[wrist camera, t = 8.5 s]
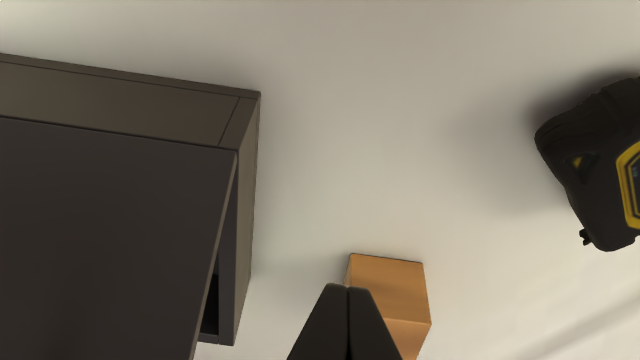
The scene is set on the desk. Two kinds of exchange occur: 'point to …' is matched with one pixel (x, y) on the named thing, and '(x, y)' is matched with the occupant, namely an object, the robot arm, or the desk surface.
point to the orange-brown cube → (395, 297)
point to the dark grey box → (165, 125)
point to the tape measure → (599, 162)
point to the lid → (106, 242)
